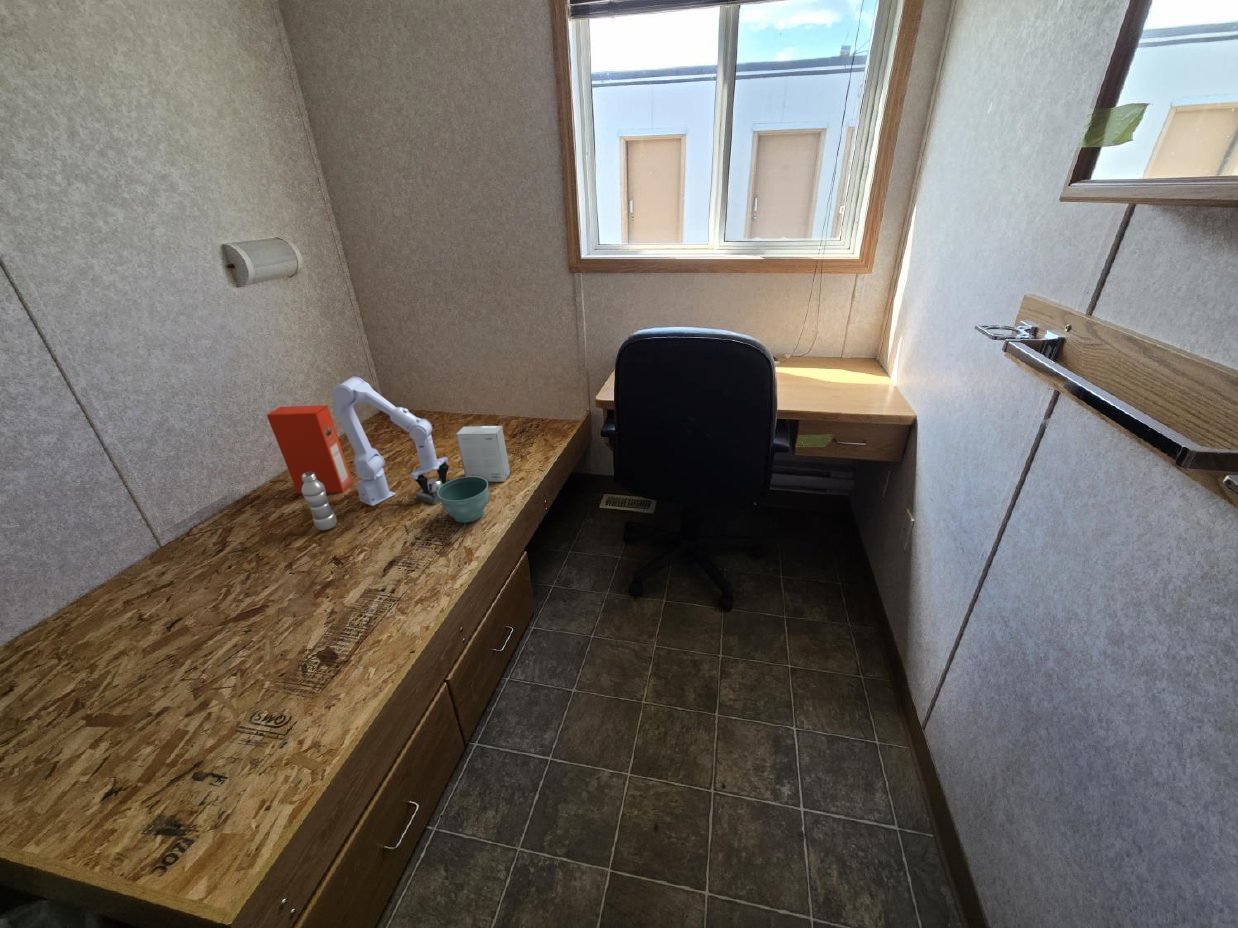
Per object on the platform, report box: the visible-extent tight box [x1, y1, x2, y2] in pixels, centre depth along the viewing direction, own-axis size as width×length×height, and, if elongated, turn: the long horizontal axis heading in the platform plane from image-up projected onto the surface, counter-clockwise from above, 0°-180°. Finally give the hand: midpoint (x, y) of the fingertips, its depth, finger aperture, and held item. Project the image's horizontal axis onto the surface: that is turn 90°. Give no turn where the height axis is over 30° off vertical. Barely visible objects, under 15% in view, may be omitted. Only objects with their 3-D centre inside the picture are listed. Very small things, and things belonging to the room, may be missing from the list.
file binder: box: [266, 404, 354, 495], centre depth 183 cm, size 8×17×32 cm, turn 89°
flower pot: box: [437, 476, 489, 524], centre depth 167 cm, size 16×16×11 cm
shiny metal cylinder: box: [428, 477, 442, 497], centre depth 181 cm, size 5×5×6 cm
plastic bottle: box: [302, 472, 338, 531], centre depth 162 cm, size 6×7×20 cm
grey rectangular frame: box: [414, 484, 444, 506], centre depth 182 cm, size 10×10×2 cm
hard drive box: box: [455, 425, 511, 483], centre depth 188 cm, size 16×8×20 cm, turn 84°
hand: (435, 488), depth 181 cm, fingers open, 7 cm apart
